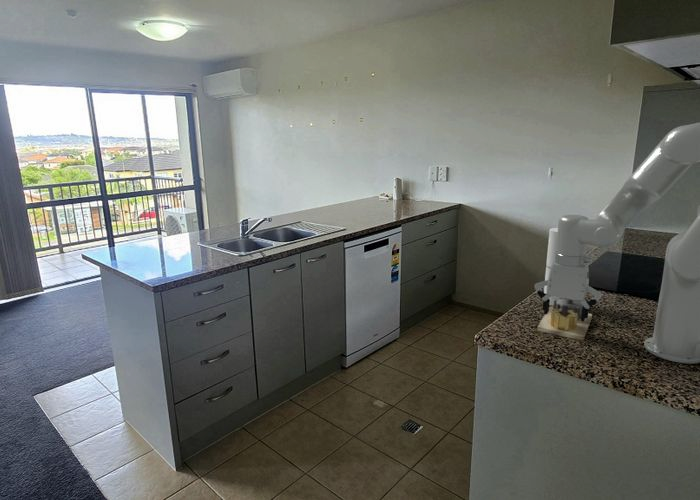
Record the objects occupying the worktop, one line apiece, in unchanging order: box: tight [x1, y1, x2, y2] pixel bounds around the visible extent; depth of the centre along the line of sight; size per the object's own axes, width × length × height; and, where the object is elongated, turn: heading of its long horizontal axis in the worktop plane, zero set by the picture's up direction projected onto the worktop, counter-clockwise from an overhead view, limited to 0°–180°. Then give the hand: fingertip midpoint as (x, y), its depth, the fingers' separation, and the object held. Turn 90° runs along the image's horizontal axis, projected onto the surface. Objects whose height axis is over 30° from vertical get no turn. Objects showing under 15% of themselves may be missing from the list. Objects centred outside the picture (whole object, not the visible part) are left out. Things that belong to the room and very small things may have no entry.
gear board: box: [536, 298, 593, 342], centre depth 127 cm, size 12×18×7 cm, turn 145°
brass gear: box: [550, 308, 578, 331], centre depth 123 cm, size 7×7×4 cm
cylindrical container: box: [543, 227, 559, 307], centre depth 141 cm, size 7×7×25 cm
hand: (564, 316), depth 123 cm, fingers open, 9 cm apart
